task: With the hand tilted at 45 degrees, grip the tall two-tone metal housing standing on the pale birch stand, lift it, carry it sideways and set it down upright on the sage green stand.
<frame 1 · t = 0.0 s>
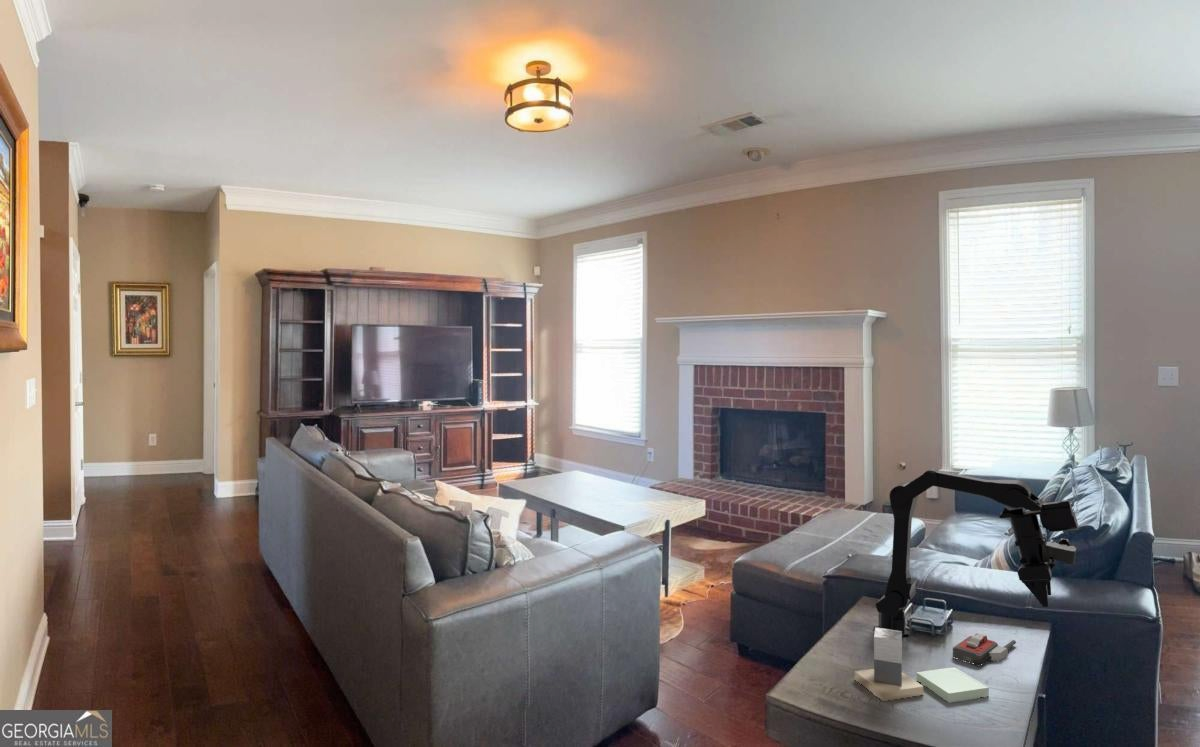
hand: (1047, 600, 160), 15 cm above the table, tool pointing down, fingers open, 9 cm apart
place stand: (951, 688, 150), on the table
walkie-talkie: (984, 655, 168), on the table
housing: (888, 678, 151), point 2 cm above the table, touching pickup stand
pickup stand: (888, 687, 151), on the table
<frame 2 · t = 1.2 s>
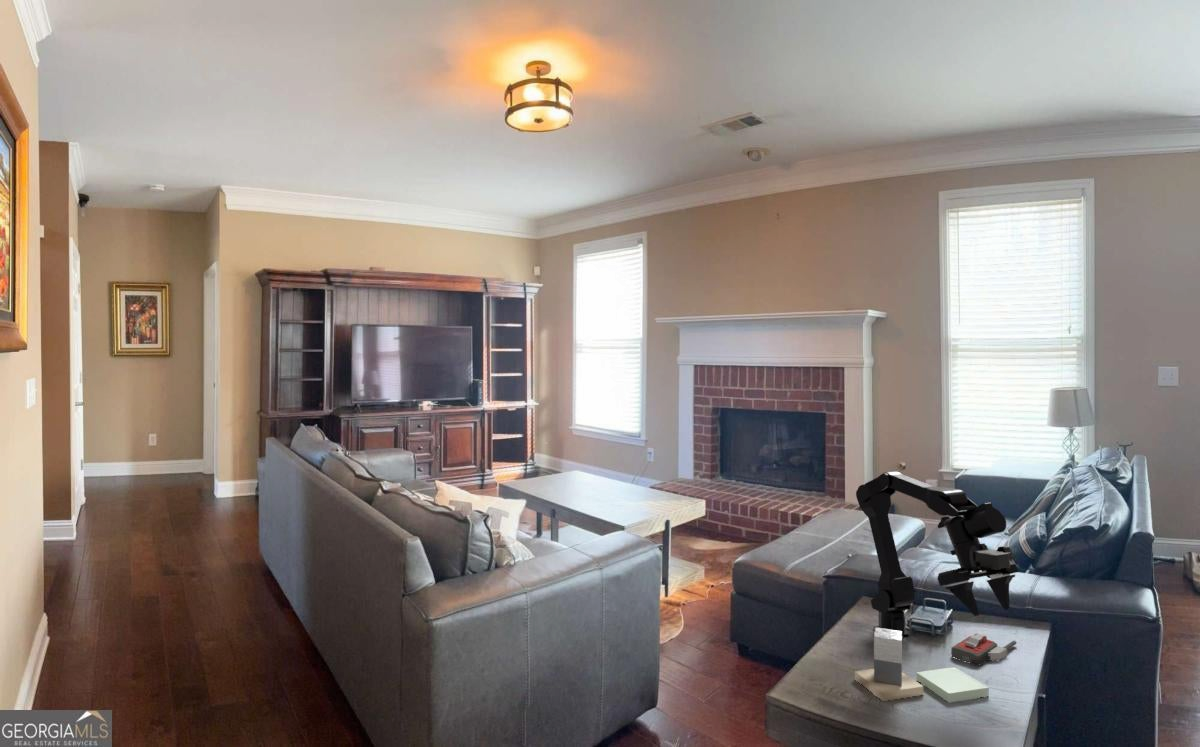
hand: (992, 612, 152), 16 cm above the table, tool tilted 25°, fingers open, 9 cm apart
nothing on the table moved.
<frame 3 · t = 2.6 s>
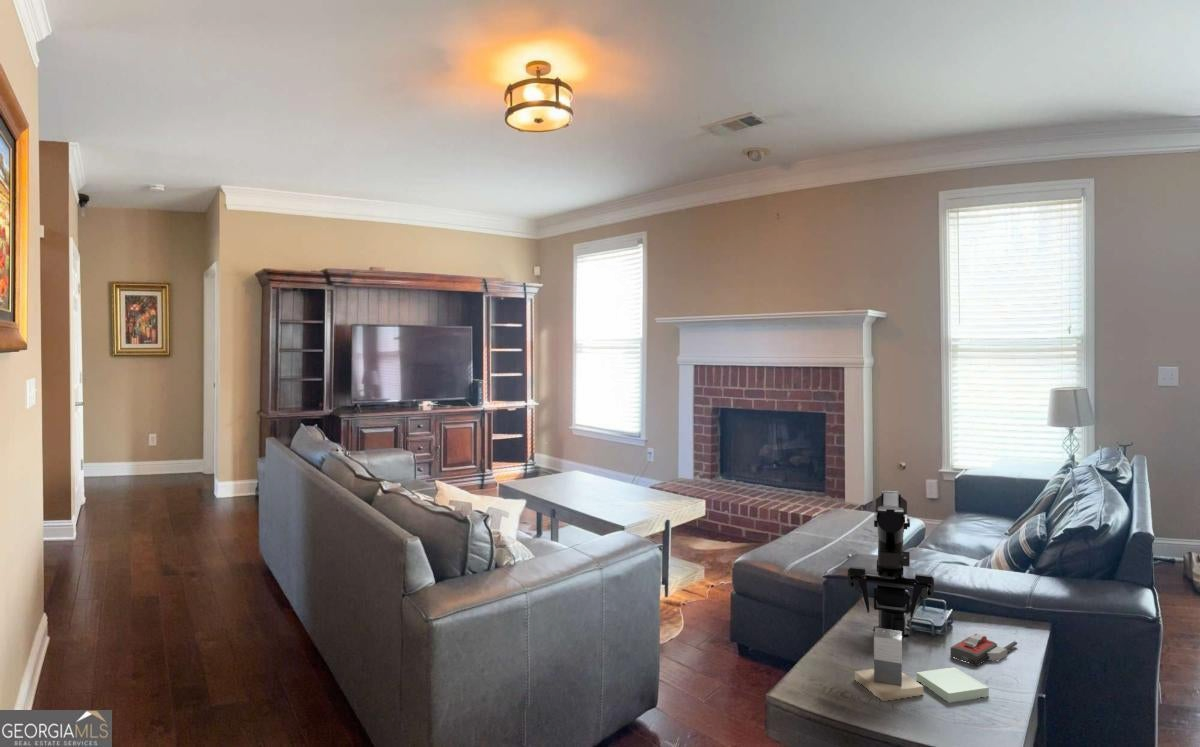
hand: (889, 615, 157), 14 cm above the table, tool tilted 45°, fingers open, 9 cm apart
nothing on the table moved.
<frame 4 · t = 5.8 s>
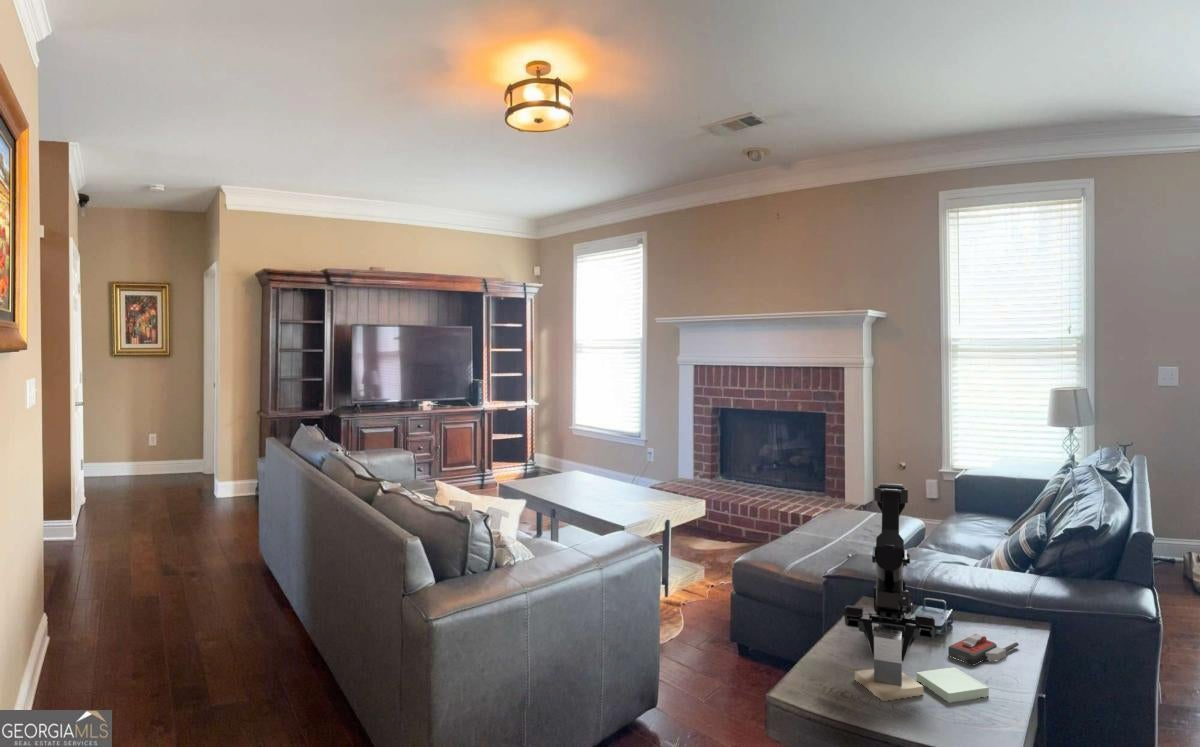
hand: (887, 658, 149), 7 cm above the table, tool tilted 45°, fingers closed on housing, 5 cm apart
housing: (888, 678, 151), point 2 cm above the table, touching gripper, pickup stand
everything else where it was.
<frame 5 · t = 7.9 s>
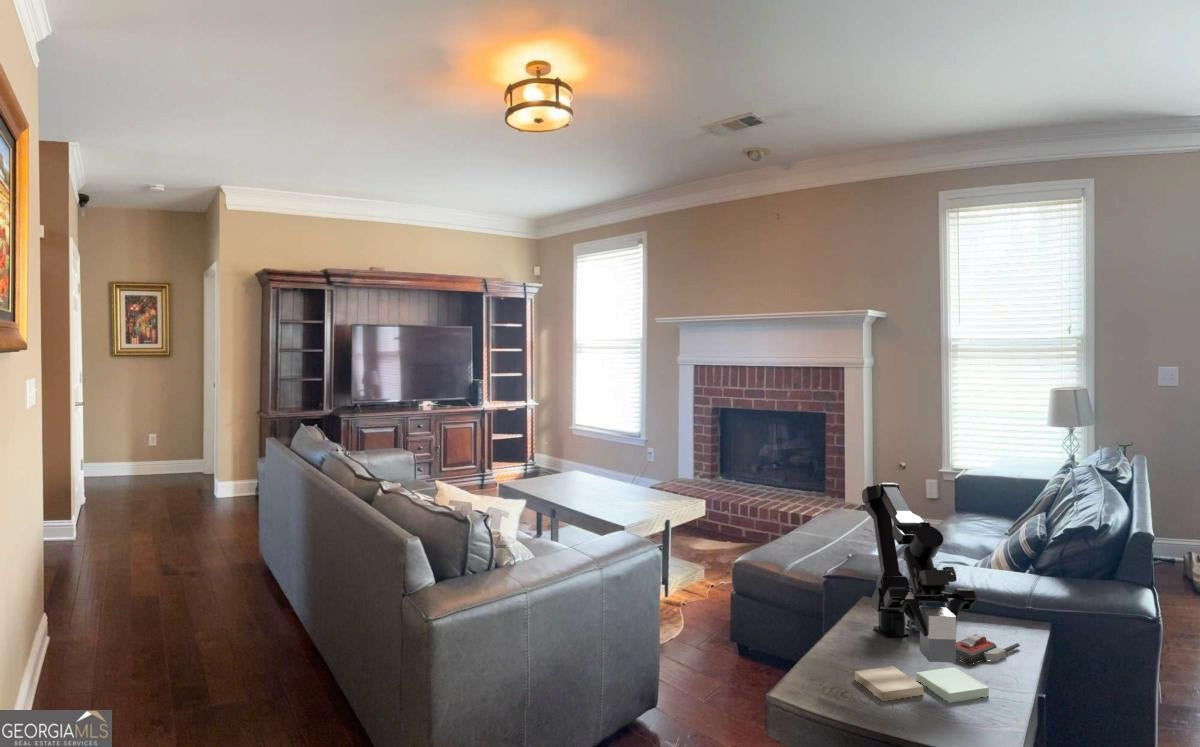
hand: (940, 636, 148), 12 cm above the table, tool tilted 45°, fingers closed on housing, 5 cm apart
housing: (937, 656, 149), point 7 cm above the table, touching gripper
everything else where it was.
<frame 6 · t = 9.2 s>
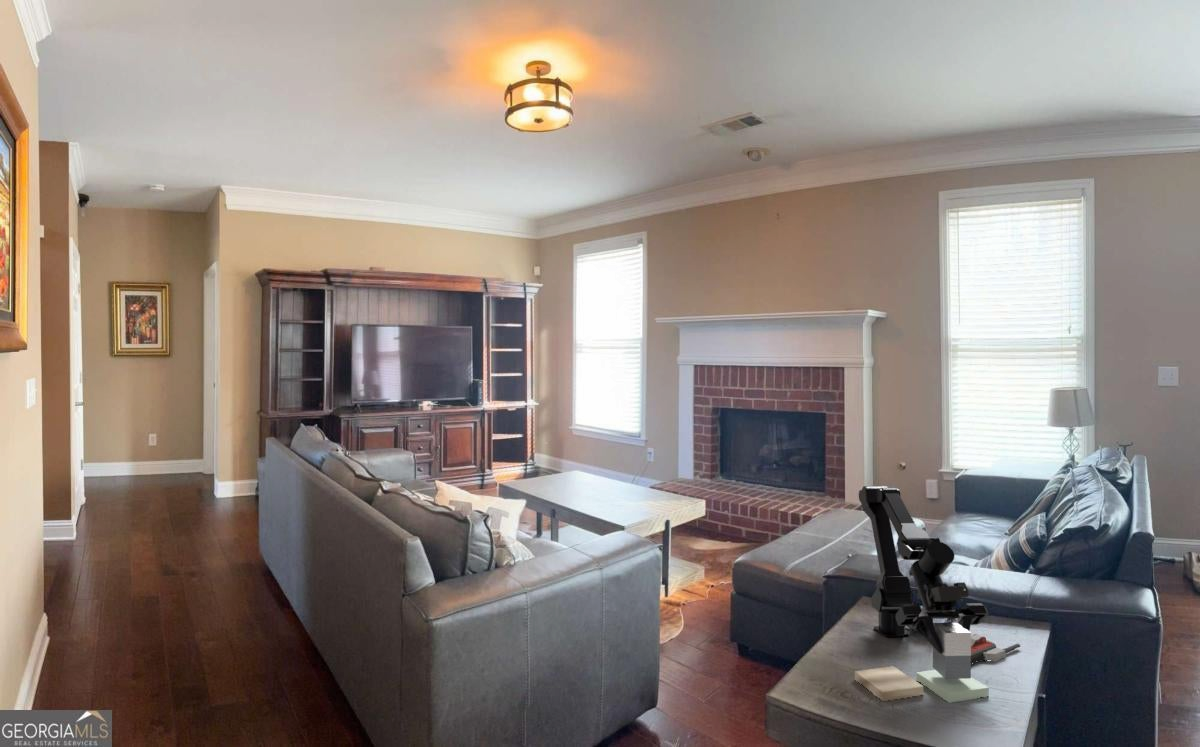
hand: (954, 652, 148), 9 cm above the table, tool tilted 45°, fingers closed on housing, 5 cm apart
housing: (951, 672, 150), point 4 cm above the table, touching gripper
when the fingers open (8 cm above the table, at t = 9.6 s): housing drops 1 cm, resting on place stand.
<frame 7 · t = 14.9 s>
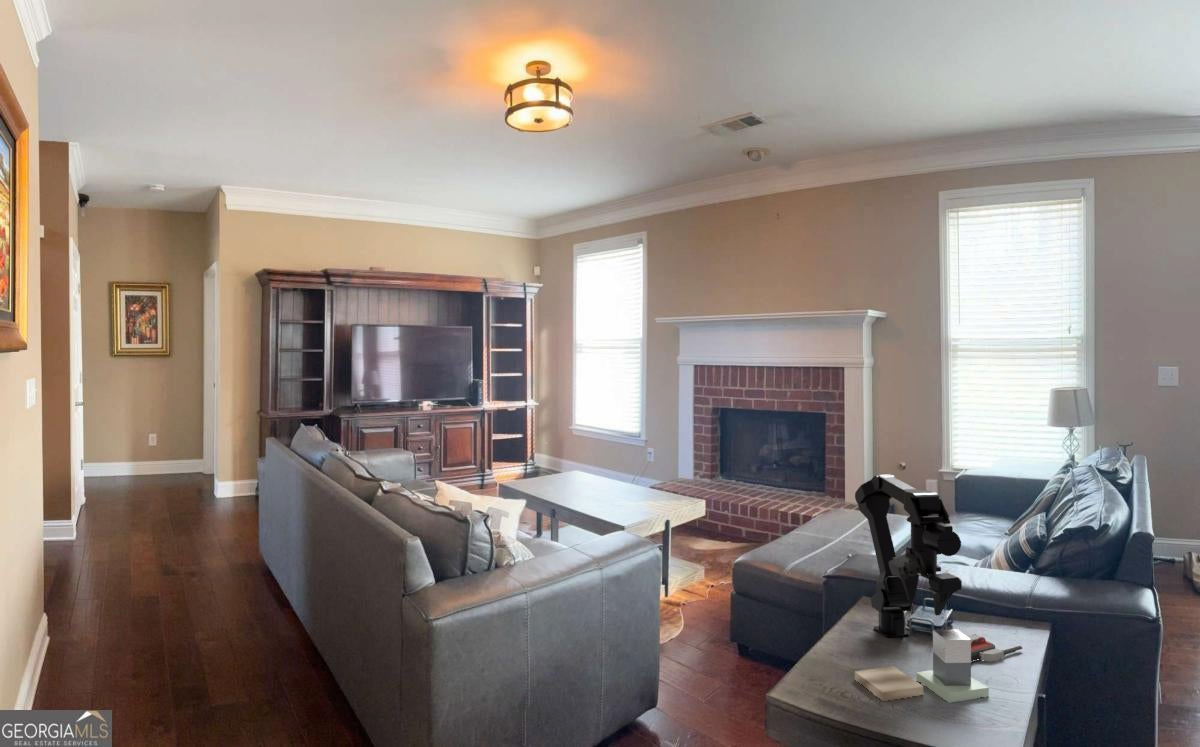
hand: (923, 608, 165), 12 cm above the table, tool pointing down, fingers open, 9 cm apart
housing: (951, 679, 150), point 2 cm above the table, touching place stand
at the end: housing 0.0 cm off-centre on the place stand, point 2.0 cm above the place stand's base; housing tilted 0°; the gripper is holding nothing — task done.
